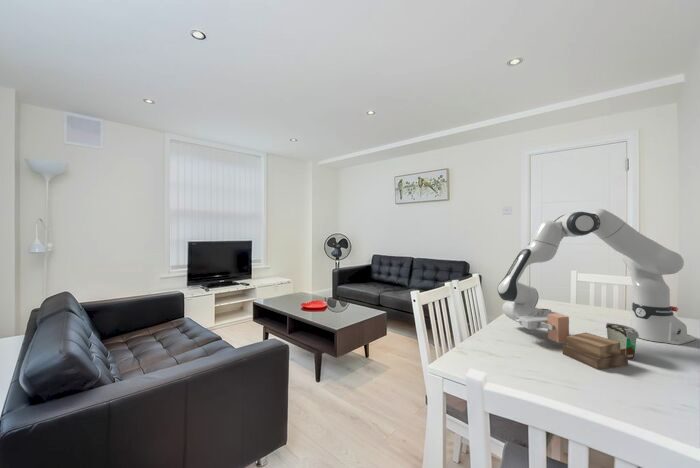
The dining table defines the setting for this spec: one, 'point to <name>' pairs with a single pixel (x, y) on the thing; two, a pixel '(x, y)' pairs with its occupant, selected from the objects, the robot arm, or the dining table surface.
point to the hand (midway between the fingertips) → (560, 327)
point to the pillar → (558, 327)
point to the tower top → (593, 345)
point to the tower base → (596, 359)
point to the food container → (623, 338)
